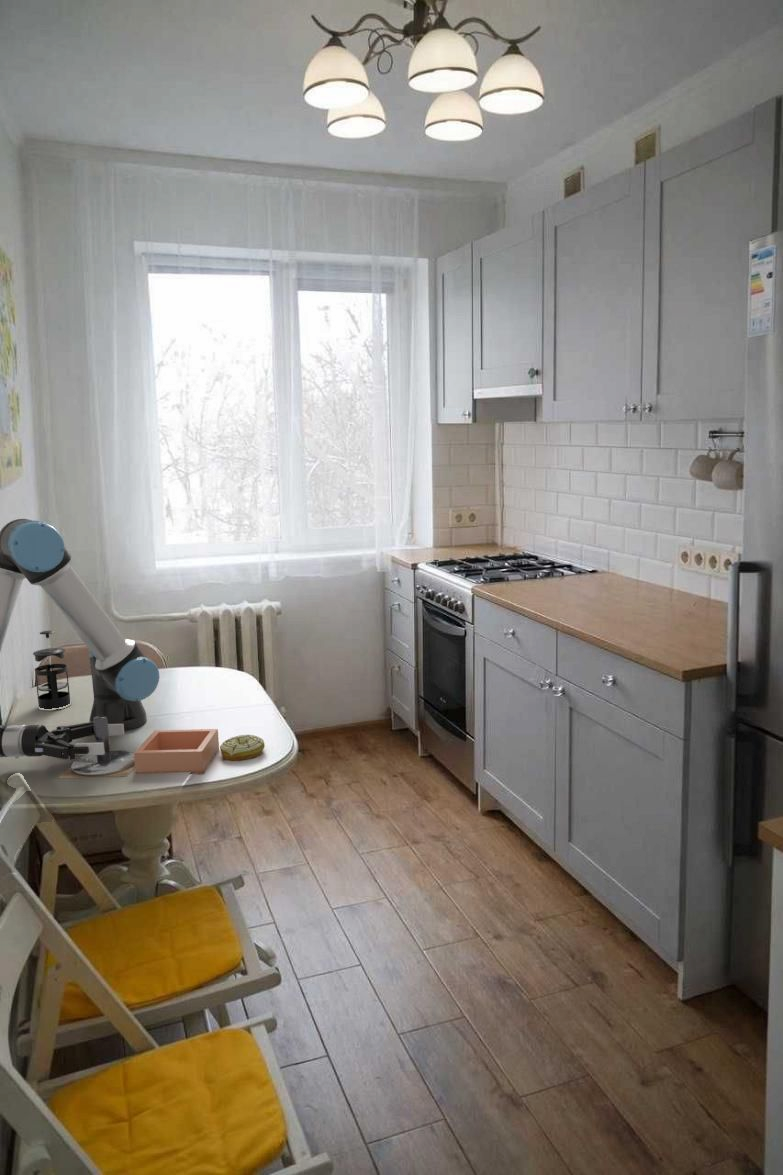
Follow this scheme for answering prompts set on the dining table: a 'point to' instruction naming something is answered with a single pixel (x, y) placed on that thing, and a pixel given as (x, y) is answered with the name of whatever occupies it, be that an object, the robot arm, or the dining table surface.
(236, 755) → the decorated donut
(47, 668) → the french press
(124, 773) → the trivet
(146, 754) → the terracotta square tray
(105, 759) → the lid
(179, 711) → the dining table surface
